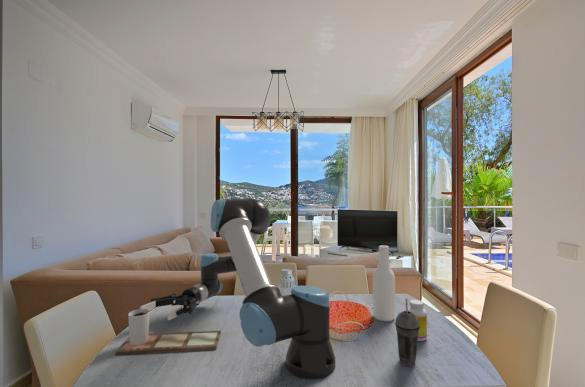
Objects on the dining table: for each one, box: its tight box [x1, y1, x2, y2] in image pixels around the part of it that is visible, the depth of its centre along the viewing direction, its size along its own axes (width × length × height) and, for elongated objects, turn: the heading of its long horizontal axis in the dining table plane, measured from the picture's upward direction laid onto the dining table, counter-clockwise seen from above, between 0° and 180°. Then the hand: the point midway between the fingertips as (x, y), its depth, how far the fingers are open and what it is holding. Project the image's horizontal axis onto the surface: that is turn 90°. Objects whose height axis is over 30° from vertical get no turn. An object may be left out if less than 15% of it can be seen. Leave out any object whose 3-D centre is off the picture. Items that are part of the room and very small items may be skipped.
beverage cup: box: [394, 298, 420, 367], centre depth 96 cm, size 7×7×20 cm
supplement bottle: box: [408, 299, 428, 342], centre depth 112 cm, size 7×7×13 cm
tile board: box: [115, 330, 222, 356], centre depth 108 cm, size 12×32×1 cm, turn 96°
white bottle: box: [372, 244, 396, 323], centre depth 129 cm, size 9×9×30 cm
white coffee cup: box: [127, 308, 151, 345], centre depth 107 cm, size 7×7×10 cm
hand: (154, 313), depth 112 cm, fingers open, 13 cm apart
